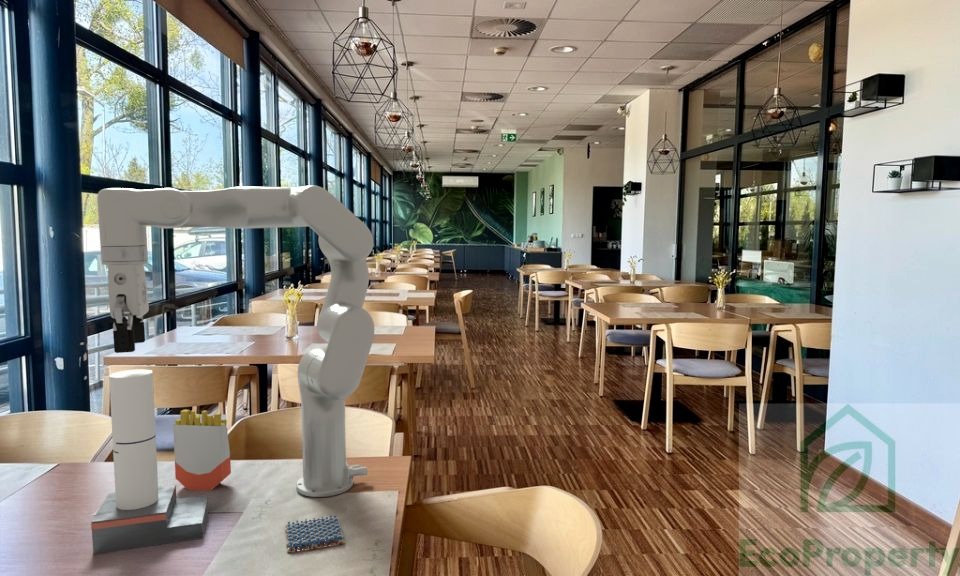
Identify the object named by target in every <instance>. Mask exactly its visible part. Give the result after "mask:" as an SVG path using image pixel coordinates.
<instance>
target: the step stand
mask: <svg viewBox="0 0 960 576" xmlns="http://www.w3.org/2000/svg"><path fill="white" fill-rule="evenodd" d="M158 497H159V499H158V500H157V501H156V502H155V503H154V504H152V505H149V506H147V507H144V508H140V509H134V510H122V509H118V508H117V507H116V495H115V491H113V492H108V494H107V495H106V497H105V498H104V500H103V502H102V504H101V506H100V507H99V509H98V511H97V512H96V514H95V515H94V517H93V519H92V521H91V523H90V526H91V527H90V529H91V538H92V554H93V555H94V554H95V555H97V554H103V553H109V552H115V551H116V552H117V551H122V550H123V551H124V550H131V549H137V548H138V549H139V548H145V547H150V546H158V545H164V544H165V545H166V544H170V543H172V544H173V543H178V542H185V541H192V540H193V541H194V540H199V539H203V537H204V534H205V529H206V524H207V519H208V515H209V510H210V509H209V508H210V505H209V495H208V494H206V495H198V496H189V497H182V498H177V485H176V484H173V485H165V486H158Z"/></svg>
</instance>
